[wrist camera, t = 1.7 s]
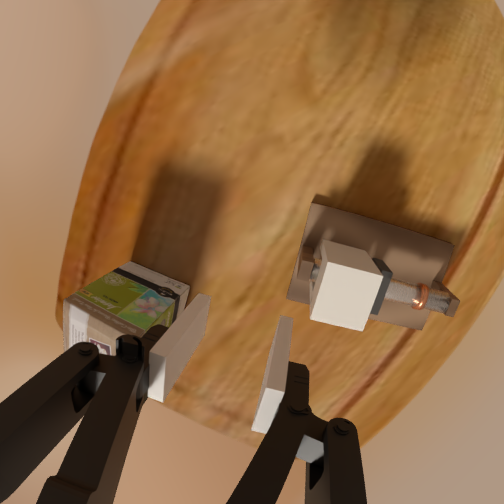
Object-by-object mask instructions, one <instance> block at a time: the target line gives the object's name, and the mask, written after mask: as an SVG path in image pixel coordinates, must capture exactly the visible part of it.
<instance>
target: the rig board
mask: <svg viewBox="0 0 504 504" xmlns="http://www.w3.org/2000/svg"><path fill="white" fill-rule="evenodd" d="M322 239H324V240H328V241H331V242H335V243H339V244H343V245H346V246H350V247H354V248H358V249H361V250H365V251H366V252H367V253H368V255H369V256H370V258H371V259H372V258H373V257H374V258H377V259H381V260H383V261H384V262H385V264H386V265H387V266H388V267H389V269H390V270H391V271H392V272H393V275H392V278H395V279H399V280H403V281H406V282H410V283H414V284H417V283H423V284H426V285H427V286H428V287H429V288H433V289H436V290H440V291H444V292H447V293H449V296H450V303H449V306H448V308H447V310H446V311H445V312H444V314H445V315H446V316H450V317H454V315H455V312H456V310H457V308H458V305H459V303H460V300H459V299H458V298H457V297H456V296H455V295H453V294H452V293H451V292H450V291H449V290H448V289H447V288H446V287H445V286H444V285H443V284H442V280H443V277H444V275H445V272H446V269H447V266H448V263H449V260H450V257H451V254H452V251H453V248H454V245H453V244H451V243H448V242H445V241H442V240H439V239H436V238H433V237H430V236H427V235H424V234H421V233H418V232H415V231H412V230H408V229H405V228H402V227H399V226H395V225H392V224H389V223H385V222H382V221H379V220H375V219H372V218H368V217H365V216H361V215H358V214H354V213H351V212H347V211H343V210H340V209H336V208H332V207H329V206H325V205H321V204H317V203H313V202H311V206H310V210H309V214H308V218H307V222H306V226H305V230H304V234H303V238H302V242H301V245H300V249H299V253H298V257H297V261H296V264H295V268H294V272H293V275H292V279H291V283H290V286H289V290H288V293H287V298H286V299H289V300H293V301H297V302H301V303H305V304H309V305H310V281H309V279H310V275H311V272H312V269H313V265H314V258H319V259H322V256H321V250H320V246H321V243H322ZM430 311H431V310H426V309H422V310H416V309H413V308H412V307H411V306H410V305H406V304H401V303H397V302H393V301H389V300H385V299H384V300H383V303H382V305H381V308H380V311H379V313H378V315H374V314H369V317H368V319H372V320H376V321H381V322H385V323H390V324H394V325H399V326H403V327H408V328H413V329H417V330H422V329H423V327H424V324H425V322H426V320H427V318H428V315H429V313H430Z"/></svg>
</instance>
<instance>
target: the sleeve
mask: <svg viewBox="0 0 504 504" xmlns="http://www.w3.org/2000/svg"><path fill="white" fill-rule="evenodd" d="M320 250H321V256H322V262H321V266H320V269H319V272H318V276H317V279H316V282H313V281H310V319H311V320H315V321H320V322H324V323H328V324H332V325H337V326H341V327H345V328H350V329H354V330H359V331H363V329H364V327H365V324H366V322H367V319H368V317H369V314H370V312H371V309H372V306H373V304H374V301H375V298H376V296H377V293H378V290H379V287H380V285H381V282H382V279H383V275H382V273H381V272H380V270H379V269H378V268H377V266H376V265H375V263H374V262H373V260H372V259H371V258H370V256H369V255H368V253H367V252H366V251H365V250H361V249H358V248H354V247H350V246H346V245H343V244H339V243H335V242H331V241H328V240H324V239H322V243H321V246H320Z"/></svg>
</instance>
